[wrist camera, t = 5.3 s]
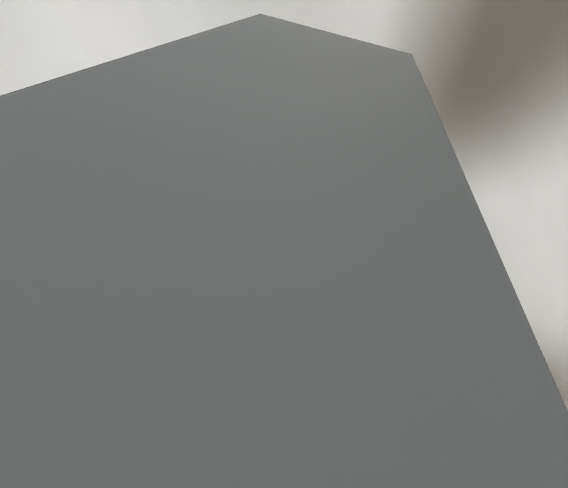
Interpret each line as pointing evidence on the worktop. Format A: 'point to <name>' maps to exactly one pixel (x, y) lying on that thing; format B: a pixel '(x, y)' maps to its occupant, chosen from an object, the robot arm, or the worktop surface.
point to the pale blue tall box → (257, 280)
